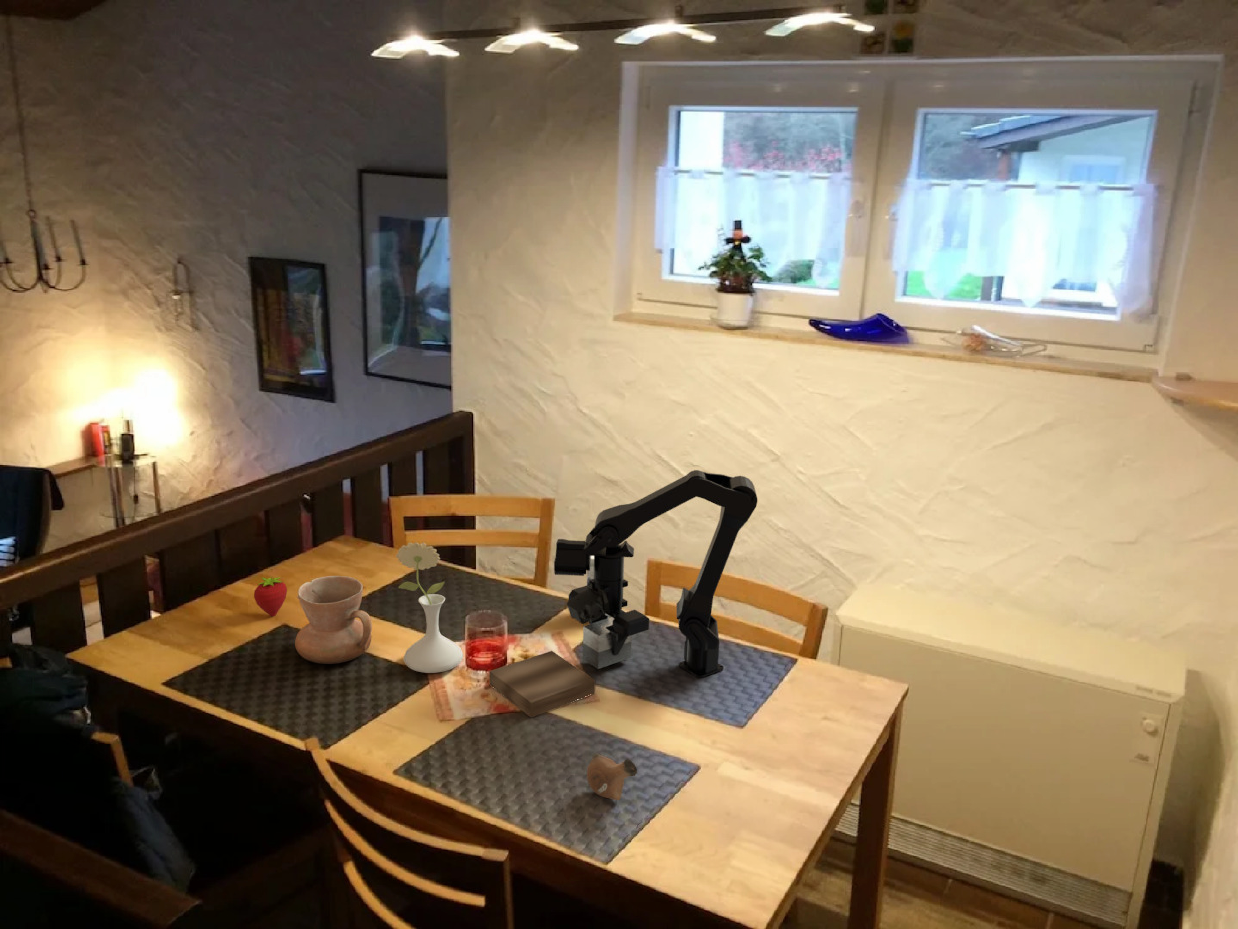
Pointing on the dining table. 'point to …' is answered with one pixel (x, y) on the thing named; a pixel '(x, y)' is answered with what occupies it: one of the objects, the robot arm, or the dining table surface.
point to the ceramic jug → (333, 620)
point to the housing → (602, 645)
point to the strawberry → (270, 595)
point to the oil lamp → (609, 775)
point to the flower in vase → (428, 617)
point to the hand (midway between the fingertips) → (607, 649)
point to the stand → (541, 683)
